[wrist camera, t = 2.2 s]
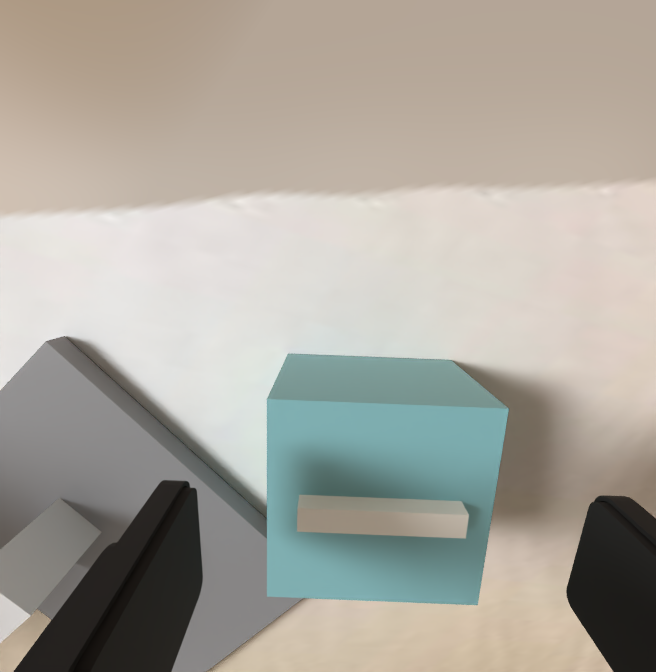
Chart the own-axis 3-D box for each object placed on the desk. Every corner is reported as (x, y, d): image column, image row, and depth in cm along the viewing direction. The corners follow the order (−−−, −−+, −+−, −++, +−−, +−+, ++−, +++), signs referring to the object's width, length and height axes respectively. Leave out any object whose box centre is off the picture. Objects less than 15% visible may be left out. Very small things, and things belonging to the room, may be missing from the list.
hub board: (320, 567, 17) (315, 682, 13) (172, 680, 19) (120, 819, 14) (64, 336, 15) (-59, 371, 10) (-79, 489, 17) (-241, 579, 12)
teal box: (450, 360, 15) (519, 417, 9) (434, 502, 16) (485, 623, 11) (288, 353, 15) (263, 407, 9) (286, 496, 16) (263, 614, 11)
